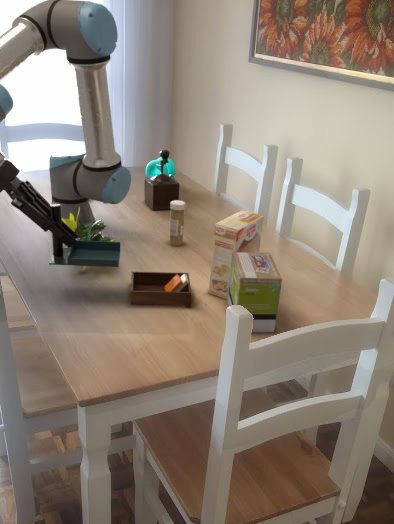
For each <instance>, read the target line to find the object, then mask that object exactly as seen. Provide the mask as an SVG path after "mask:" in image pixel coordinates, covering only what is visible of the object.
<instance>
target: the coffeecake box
mask: <svg viewBox="0 0 394 524" xmlns="http://www.w3.org/2000/svg"><path fill="white" fill-rule="evenodd" d="M264 219H265V216H264V215H262V214H259V213H255V212H251V211H247V210H243V209H241V210H240V211H238V212H236V213H234V214H232V215H230V216H228V217H226V218H223V219H222V220H220V221H218V222H216V223H214V230H213V241H212V253H211V265H210V274H209V285H208V293H207V294H210V295H213V296H216V297H218V298H221V299H224V300H227V301H228V292H229V281H230V270H231V259H232V252H241V253H260V247H261V240H262V234H263V233H262V232H263V226H264Z"/></svg>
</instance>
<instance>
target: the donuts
mask: <svg viewBox="0 0 394 524" xmlns="http://www.w3.org/2000/svg"><path fill="white" fill-rule="evenodd" d="M161 160H162V157H161V156H160V157H158V158H157V159H155V160H150V162H148V163H147V165H146V167H145V177H154V176H156V175H159V174H161V167H158V166H157V164H159V163H160V161H161ZM168 161H169V163H167V164H166V165H165V164H164V166H163V173H164V174H166V175H168V176H169V175H170V174H171V177H173V178H174V179H175V176H176V174H177V167H176V164H175V162H174V161H173V160H172V159H171V158H169V157H168Z"/></svg>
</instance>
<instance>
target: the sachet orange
mask: <svg viewBox="0 0 394 524" xmlns="http://www.w3.org/2000/svg"><path fill="white" fill-rule="evenodd" d="M182 284H183V282H182V280H181V278H180V276H179V275H178V274H177V275H176V276H175V277H174V278H173V279H172V280H170V281H169V282H168V283H167V284H166V285H165V286H164V288H165V290H166V291H169V292H175V291H176V290H177V289H178V288H179V287H180V286H181V285H182Z"/></svg>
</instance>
